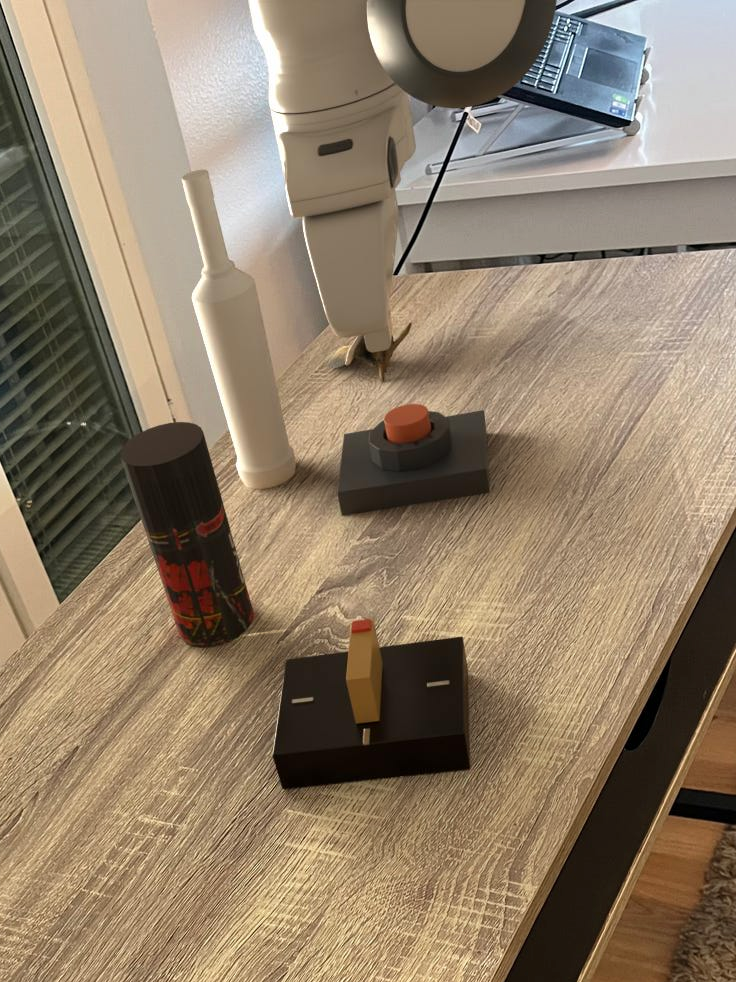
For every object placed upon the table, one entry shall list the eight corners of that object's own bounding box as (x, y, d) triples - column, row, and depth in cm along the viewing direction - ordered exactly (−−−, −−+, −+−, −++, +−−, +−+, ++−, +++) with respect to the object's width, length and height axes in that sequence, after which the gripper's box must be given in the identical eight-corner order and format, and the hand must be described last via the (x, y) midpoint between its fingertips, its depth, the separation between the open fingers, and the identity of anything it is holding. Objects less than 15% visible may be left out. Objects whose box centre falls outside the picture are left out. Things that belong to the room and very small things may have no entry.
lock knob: (379, 721, 80) (369, 673, 78) (355, 724, 80) (344, 676, 78) (382, 663, 84) (373, 616, 82) (360, 666, 85) (349, 619, 82)
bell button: (431, 420, 105) (428, 400, 104) (431, 441, 103) (428, 421, 102) (388, 427, 106) (384, 408, 105) (386, 448, 104) (383, 429, 103)
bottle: (304, 458, 114) (236, 156, 97) (290, 488, 110) (217, 182, 93) (249, 462, 116) (173, 168, 99) (234, 493, 112) (152, 193, 95)
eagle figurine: (433, 347, 121) (380, 308, 126) (395, 304, 115) (341, 265, 120) (379, 413, 123) (329, 372, 128) (340, 374, 117) (289, 333, 122)
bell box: (487, 433, 109) (481, 389, 106) (489, 493, 102) (484, 447, 99) (348, 456, 112) (339, 414, 109) (341, 516, 105) (332, 472, 102)
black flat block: (468, 671, 87) (462, 632, 84) (470, 771, 79) (464, 731, 77) (295, 692, 89) (285, 656, 87) (282, 791, 82) (271, 753, 80)
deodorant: (169, 620, 100) (110, 444, 90) (238, 591, 100) (187, 413, 90) (193, 657, 95) (133, 475, 85) (265, 626, 96) (215, 443, 86)
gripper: (312, 100, 92) (347, 293, 101) (282, 201, 77) (326, 415, 87) (399, 80, 90) (427, 277, 99) (385, 179, 76) (419, 399, 85)
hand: (380, 342), depth 93 cm, fingers closed
